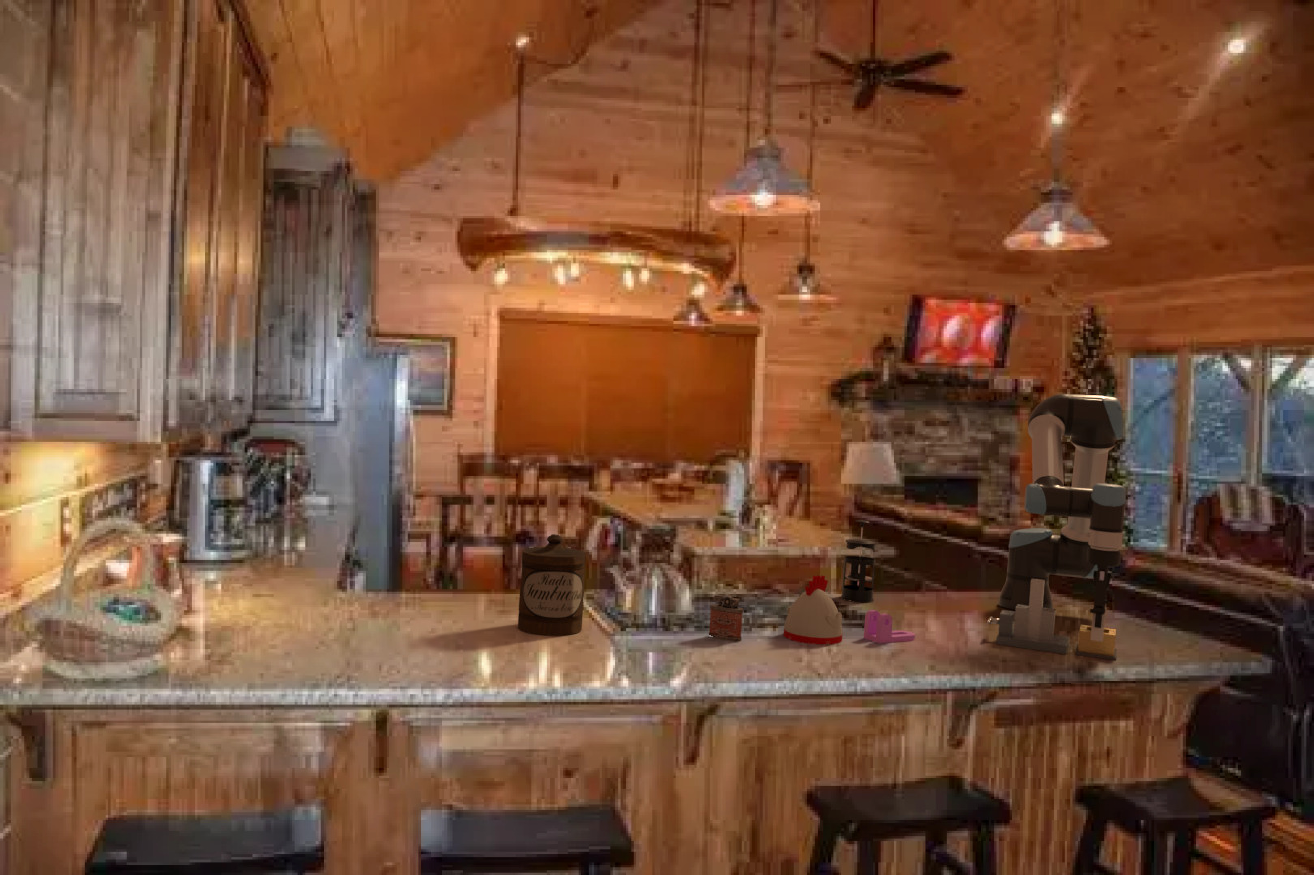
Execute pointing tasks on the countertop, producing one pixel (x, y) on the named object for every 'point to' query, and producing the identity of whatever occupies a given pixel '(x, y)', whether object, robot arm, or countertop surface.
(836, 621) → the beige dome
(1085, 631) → the orange-brown square frame
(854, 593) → the french press
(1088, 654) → the rubber mat
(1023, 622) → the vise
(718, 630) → the lighter
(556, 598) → the wooden container
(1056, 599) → the countertop surface
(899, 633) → the bracket
